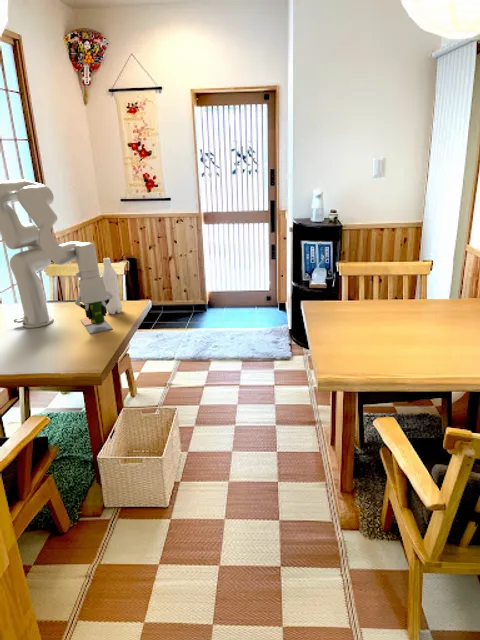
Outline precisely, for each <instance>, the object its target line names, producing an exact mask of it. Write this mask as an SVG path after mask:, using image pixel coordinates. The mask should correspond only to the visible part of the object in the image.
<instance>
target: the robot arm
mask: <svg viewBox="0 0 480 640" xmlns="http://www.w3.org/2000/svg"><path fill="white" fill-rule="evenodd" d="M54 199H55V198H54V193H53V191H52V189H51V188H50V187H48V186H47V185H45V184H43V183H39V182H35V181H31V180H26V179H21V178H20V179H9V180H8V179H7V180H0V235H1V237H2V239H3V241H4V243H5V245H6V247H7V248H8V249H9V250H21V249H24V248H27V250H26V249H25V250H22V251H20V252H17V253H15V254H14V255H12V257H10V259H9V267H10V270H11V272H12V274H13V275H14V278H15V281H16V284H17V290H18V293H19V298H20V302H21V306H22V310H23V314H22V315H21V316H20V317H14V318H13V319H12V320H13V323H17V324H21V323H22V327H23V328H26V329H34V328H40V327H45V326H47V325H50V324H52V323H53V322H54V317H53V316H50V315H49V311H48V305H47V301H46V296H45V292H44V286H43V282H42V279H41V278H40V277H39V276H38V275H37V274H36V273H37V272H40V271H42V270H45V269H47V268H49V267H50V265H51V263H52V262H53V263H54V264H56V265H59V266H60V265H65V264H69V263H71V262H74V261H76V262H77V263H76V264H77V268H78V272H77V273H75V277H76V278H77V277H79V278H78V291H79V292H78V293H79V295H78V297H77V299H76V300H75V301H74V304H75V305H76V306H78V307H80V308H81V309H83V310H84V312H85V316H86V318H89V320H90V319H91V315H90V310H89V308H88V307H89V304H90V303H94V302H100V301H101V302H102V308H103V314H104V317H107V314H108V312H107V310H106V306H107V304H108V303H109V301H110V300H111V299H112V297H113V296H112V295H111V294H110V293H108V292H107V291H106V287H105V284H104V280H103V277H102V276H101V275H100V269H99V264H98V259H97V257H98V256H97V251H96V246H95V244H94V243H93V242H90V241H88V242H87V241H85V242H81V241H76V240H73V241H72V240H70V241H68V242H64V243H60V244H59V243H58V242H57V240H56V239H55V237H54V235H53V232H52V228H53V226H54V225H56V223H57V221H58V216H57V214H56V213H55V211H54V210H53V209H52V207H51V204H53V203H54ZM16 202H19V204H20V206H22V208H23V209H24V211H25V212H26V213H27V214H28V216H29V217H30V219H31V220H32V222H33V223H31V222H24V223H21V221H20V218H19V216H18V214H17V212H16V211H15V210H14V209H13V207H11V206H10V205H9V203H16ZM107 296H108V297H107Z"/></svg>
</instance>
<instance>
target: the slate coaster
mask: <svg viewBox="0 0 480 640" xmlns="http://www.w3.org/2000/svg"><path fill="white" fill-rule="evenodd" d="M85 329H86V330H87V332H88V333H89V335H93V334H98V333H102V332H103V333H104V332H108V331H111V330H114V328H113V327H112V326H111V325H110V324H109V322H107V321H106V322H104V323H103V324H101V325H90V326H85Z"/></svg>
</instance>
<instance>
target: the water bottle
mask: <svg viewBox="0 0 480 640" xmlns="http://www.w3.org/2000/svg"><path fill="white" fill-rule="evenodd" d="M102 261H103V263H102V264H103V269H102V272H101V276H102V277H103V280H104V284H105V287H106V291H107V292H108V293H110V294H111V295H112V296H113V297H112V299H111V300H110V301H109V303H108V304H107V306H106V310H107V314H110V315H116V313H117V314H120V313H121V312H122V309H123V303H122V302H121V299H120V293H119V292H120V284H119V278H118V273H117V271H116V270H115V268H114V267H113V266H112V261H111V258H110V257H103V259H102ZM107 297H108V296H107Z"/></svg>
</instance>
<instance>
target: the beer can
mask: <svg viewBox="0 0 480 640" xmlns="http://www.w3.org/2000/svg"><path fill="white" fill-rule="evenodd" d="M88 308H89V310H90V315H91V323H92V325H101V324H103V323H105V322H104V321H105V320H106V319H105V316H104V314H103V308H102V302H101V301H100V302H94V303H90V304H89V307H88ZM104 319H105V320H104Z"/></svg>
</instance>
